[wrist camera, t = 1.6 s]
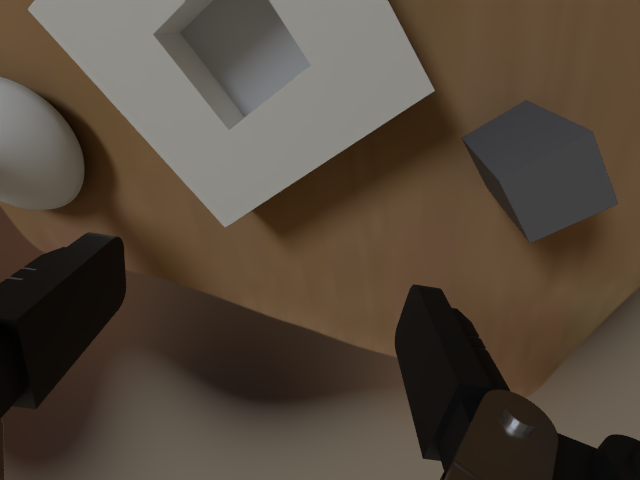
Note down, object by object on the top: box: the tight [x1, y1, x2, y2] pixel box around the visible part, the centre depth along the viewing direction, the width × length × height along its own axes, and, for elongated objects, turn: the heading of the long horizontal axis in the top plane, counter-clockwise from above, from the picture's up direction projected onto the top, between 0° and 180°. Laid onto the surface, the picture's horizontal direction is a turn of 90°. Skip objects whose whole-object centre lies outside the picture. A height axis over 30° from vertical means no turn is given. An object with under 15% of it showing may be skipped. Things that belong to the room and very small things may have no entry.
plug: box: [462, 101, 618, 243], centre depth 25 cm, size 5×5×9 cm
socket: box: [28, 0, 435, 227], centre depth 25 cm, size 18×18×5 cm
